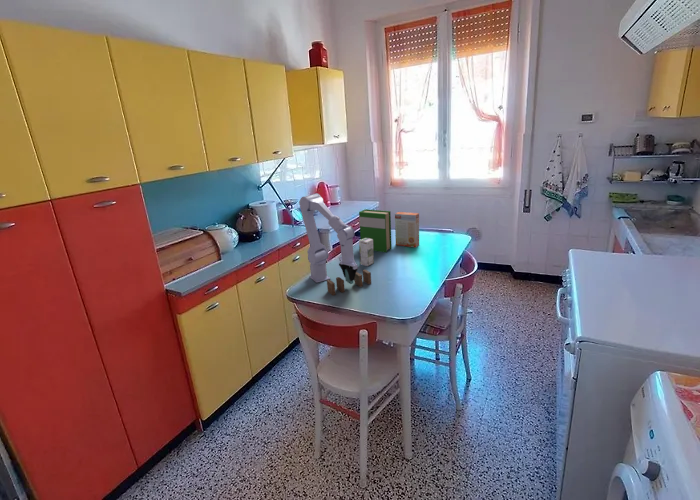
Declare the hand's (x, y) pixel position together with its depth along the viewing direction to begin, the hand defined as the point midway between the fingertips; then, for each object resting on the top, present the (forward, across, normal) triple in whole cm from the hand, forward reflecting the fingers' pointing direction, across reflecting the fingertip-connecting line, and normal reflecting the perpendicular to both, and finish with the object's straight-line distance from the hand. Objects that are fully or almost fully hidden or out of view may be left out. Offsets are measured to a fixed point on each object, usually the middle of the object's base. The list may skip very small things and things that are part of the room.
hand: (349, 278), depth 177 cm
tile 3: (+5, 0, +5) cm, 7 cm away
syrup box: (+5, -21, +23) cm, 32 cm away
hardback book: (+5, -39, +41) cm, 57 cm away
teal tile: (+2, 0, 0) cm, 2 cm away
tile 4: (+5, 0, +10) cm, 11 cm away
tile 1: (+5, 0, -10) cm, 11 cm away
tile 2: (+5, 0, -5) cm, 7 cm away
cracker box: (+5, -32, +60) cm, 68 cm away
